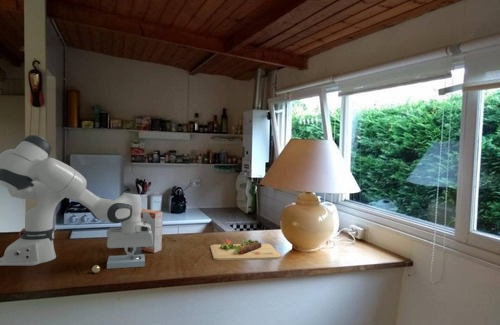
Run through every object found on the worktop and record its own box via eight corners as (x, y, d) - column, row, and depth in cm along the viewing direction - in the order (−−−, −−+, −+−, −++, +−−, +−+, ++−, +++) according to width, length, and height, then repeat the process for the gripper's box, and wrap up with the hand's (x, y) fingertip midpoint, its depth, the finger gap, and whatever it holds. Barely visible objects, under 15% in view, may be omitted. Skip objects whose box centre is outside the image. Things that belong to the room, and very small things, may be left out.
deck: (106, 268, 150) (107, 263, 150) (108, 261, 160) (108, 256, 160) (144, 266, 155) (144, 260, 155) (144, 259, 165) (144, 254, 165)
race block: (130, 254, 163) (130, 237, 163) (130, 250, 169) (131, 234, 169) (141, 253, 165) (141, 237, 165) (141, 249, 171) (141, 234, 170)
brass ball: (91, 274, 143) (91, 266, 143) (92, 271, 146) (92, 264, 146) (99, 273, 144) (99, 266, 144) (100, 271, 147) (100, 263, 147)
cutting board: (213, 261, 168) (214, 246, 168) (209, 247, 191) (210, 234, 190) (282, 260, 175) (282, 245, 175) (270, 246, 198) (270, 234, 198)
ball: (139, 264, 158) (131, 264, 157) (138, 262, 161) (131, 262, 160) (139, 257, 158) (132, 257, 157) (139, 255, 161) (132, 255, 160)
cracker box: (133, 248, 180) (135, 209, 179) (142, 246, 186) (143, 208, 185) (153, 253, 174) (155, 213, 173) (161, 250, 179) (163, 211, 178)
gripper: (106, 229, 151) (105, 259, 152) (153, 227, 158) (153, 257, 158) (107, 225, 157) (106, 255, 158) (153, 224, 163) (152, 253, 164)
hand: (130, 256), depth 158 cm, fingers closed
